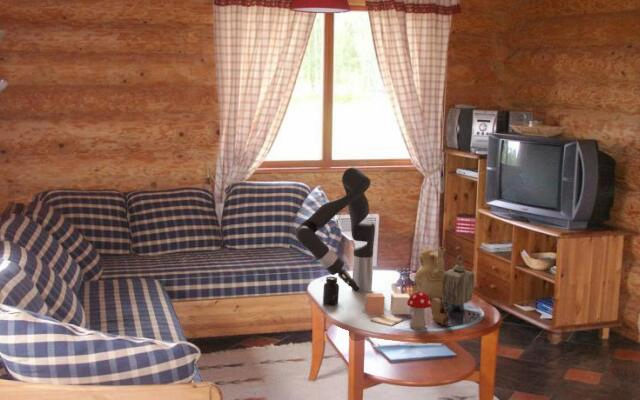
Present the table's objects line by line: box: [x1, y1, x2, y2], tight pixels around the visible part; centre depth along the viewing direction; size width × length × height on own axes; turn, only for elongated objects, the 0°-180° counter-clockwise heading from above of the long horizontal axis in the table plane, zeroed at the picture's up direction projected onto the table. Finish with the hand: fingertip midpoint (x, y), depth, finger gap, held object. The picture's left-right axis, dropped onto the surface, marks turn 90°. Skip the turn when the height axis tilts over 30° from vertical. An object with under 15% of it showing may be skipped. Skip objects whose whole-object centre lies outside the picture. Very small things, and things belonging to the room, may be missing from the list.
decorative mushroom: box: [407, 291, 432, 330], centre depth 303 cm, size 10×9×15 cm
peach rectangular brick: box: [364, 292, 386, 315], centre depth 322 cm, size 7×5×8 cm
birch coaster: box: [370, 313, 404, 327], centre depth 311 cm, size 10×10×1 cm
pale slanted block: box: [390, 293, 411, 315], centre depth 322 cm, size 7×5×8 cm
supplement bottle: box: [322, 276, 340, 307], centre depth 330 cm, size 7×7×12 cm
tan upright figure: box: [413, 246, 446, 300], centre depth 349 cm, size 17×20×25 cm
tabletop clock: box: [441, 254, 475, 312], centre depth 328 cm, size 14×9×25 cm, turn 145°
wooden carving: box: [429, 298, 450, 326], centre depth 311 cm, size 16×5×10 cm, turn 17°
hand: (356, 287), depth 318 cm, fingers open, 8 cm apart
